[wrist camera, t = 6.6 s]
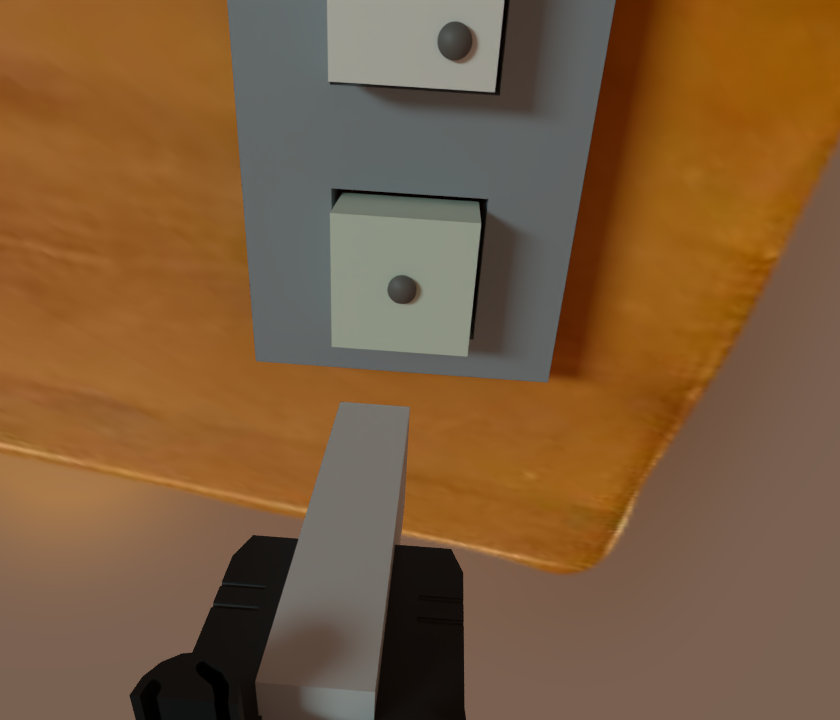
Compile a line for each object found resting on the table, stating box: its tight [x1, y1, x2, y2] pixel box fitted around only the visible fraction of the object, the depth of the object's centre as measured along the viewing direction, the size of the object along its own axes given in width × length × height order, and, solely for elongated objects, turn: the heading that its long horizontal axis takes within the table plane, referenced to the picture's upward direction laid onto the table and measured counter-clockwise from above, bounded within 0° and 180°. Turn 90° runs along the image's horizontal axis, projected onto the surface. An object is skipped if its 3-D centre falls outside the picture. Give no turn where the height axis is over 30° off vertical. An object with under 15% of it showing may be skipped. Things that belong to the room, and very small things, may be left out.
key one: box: [330, 192, 481, 357], centre depth 23 cm, size 5×5×3 cm
